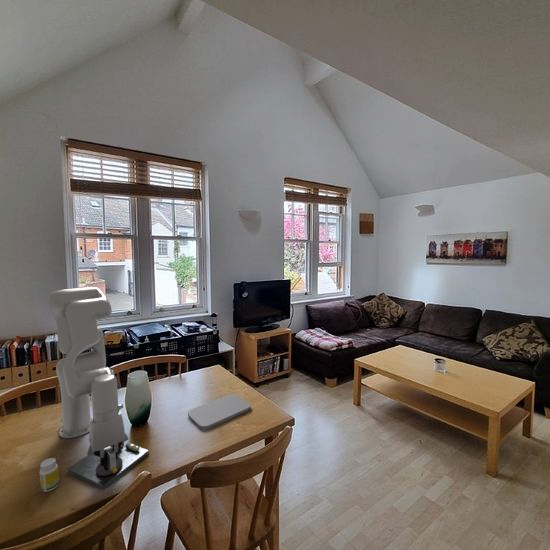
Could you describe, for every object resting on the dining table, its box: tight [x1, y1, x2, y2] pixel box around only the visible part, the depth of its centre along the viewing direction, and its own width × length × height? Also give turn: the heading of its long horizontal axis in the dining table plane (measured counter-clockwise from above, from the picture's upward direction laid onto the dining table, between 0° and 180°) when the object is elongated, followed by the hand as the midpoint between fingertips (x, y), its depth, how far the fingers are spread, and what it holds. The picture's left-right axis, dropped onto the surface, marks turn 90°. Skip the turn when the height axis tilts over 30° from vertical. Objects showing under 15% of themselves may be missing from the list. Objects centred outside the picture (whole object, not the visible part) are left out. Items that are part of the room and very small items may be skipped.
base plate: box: [67, 441, 149, 491], centre depth 107 cm, size 18×18×3 cm
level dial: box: [96, 446, 123, 477], centre depth 102 cm, size 9×8×7 cm
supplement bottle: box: [38, 457, 60, 493], centre depth 97 cm, size 5×5×8 cm
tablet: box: [187, 393, 251, 430], centre depth 140 cm, size 16×26×2 cm, turn 131°
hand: (109, 463), depth 103 cm, fingers closed on level dial, 2 cm apart
